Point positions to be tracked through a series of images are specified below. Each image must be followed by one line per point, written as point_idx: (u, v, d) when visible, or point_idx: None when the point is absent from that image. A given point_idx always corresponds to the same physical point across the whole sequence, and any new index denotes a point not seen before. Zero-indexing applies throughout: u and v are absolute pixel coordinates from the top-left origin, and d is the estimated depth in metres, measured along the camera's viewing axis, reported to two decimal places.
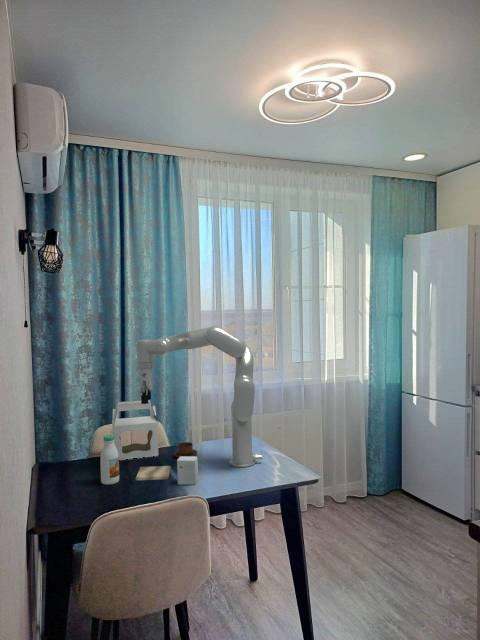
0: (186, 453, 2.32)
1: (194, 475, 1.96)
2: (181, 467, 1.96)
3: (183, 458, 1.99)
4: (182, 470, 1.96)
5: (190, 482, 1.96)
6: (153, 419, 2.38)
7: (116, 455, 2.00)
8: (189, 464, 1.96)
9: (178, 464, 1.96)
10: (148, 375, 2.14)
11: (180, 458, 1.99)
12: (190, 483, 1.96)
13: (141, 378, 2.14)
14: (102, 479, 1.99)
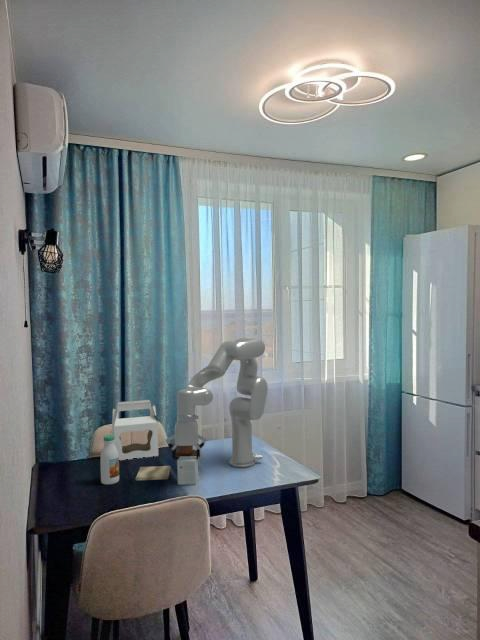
0: (186, 453, 2.32)
1: (194, 475, 1.96)
2: (181, 467, 1.96)
3: (183, 458, 1.99)
4: (182, 470, 1.96)
5: (190, 482, 1.96)
6: (153, 419, 2.38)
7: (116, 455, 2.00)
8: (189, 464, 1.96)
9: (178, 464, 1.96)
10: None
11: (180, 458, 1.99)
12: (190, 483, 1.96)
13: (197, 431, 1.97)
14: (102, 479, 1.99)
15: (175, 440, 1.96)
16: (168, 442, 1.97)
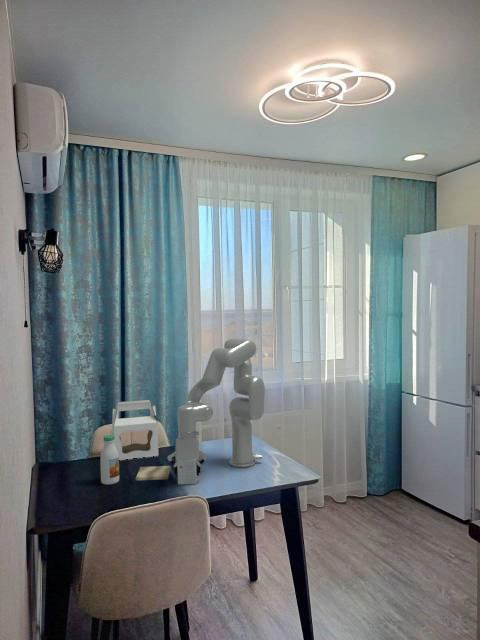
0: None
1: (194, 475, 1.96)
2: (181, 466, 1.96)
3: None
4: (182, 469, 1.97)
5: (190, 482, 1.97)
6: (153, 419, 2.38)
7: (116, 455, 2.00)
8: (189, 464, 1.96)
9: (178, 464, 1.97)
10: None
11: None
12: (190, 483, 1.97)
13: (198, 447, 1.98)
14: (102, 479, 1.99)
15: (176, 457, 1.96)
16: (170, 459, 1.98)
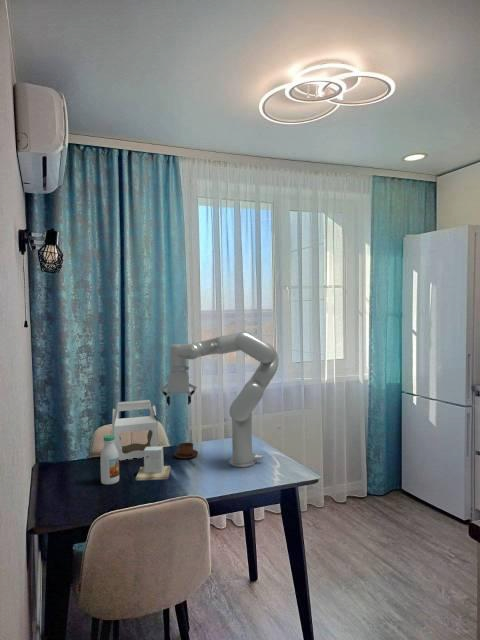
0: (187, 453, 2.32)
1: (160, 464, 2.07)
2: (147, 456, 2.07)
3: (149, 448, 2.10)
4: (148, 459, 2.07)
5: (156, 470, 2.07)
6: (153, 419, 2.38)
7: (116, 455, 2.00)
8: (155, 454, 2.07)
9: (144, 454, 2.07)
10: None
11: (146, 448, 2.10)
12: (156, 471, 2.08)
13: (188, 380, 2.24)
14: (102, 479, 1.99)
15: (169, 388, 2.23)
16: (163, 390, 2.24)
